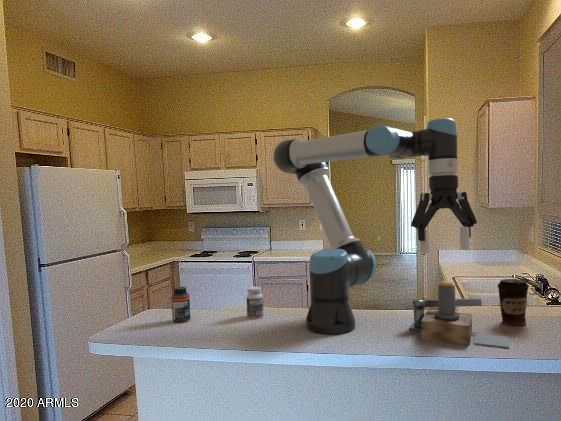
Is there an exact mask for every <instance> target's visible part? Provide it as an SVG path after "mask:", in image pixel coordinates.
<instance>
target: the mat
mask: <svg viewBox="0 0 561 421" xmlns="http://www.w3.org/2000/svg"><path fill="white" fill-rule="evenodd" d="M473 344H474V345H477V346H486V347H493V348H494V347H495V348H503V349H510V342H509V337H508V336H501V335H500V336H499V335H491V334H483V333H475V335H474V342H473Z"/></svg>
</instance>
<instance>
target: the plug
mask: <svg viewBox="0 0 561 421" xmlns="http://www.w3.org/2000/svg"><path fill="white" fill-rule="evenodd" d="M439 282H440V283H439V284H438V285H437V287H438V288H437V292H438V293H437V296H438V297H437V298H438V307H437V308H438V309H437V310H434V311H435V317H436V318H439V319H440V320H450V321H456V320H457V319H459V313H460V312H457V311H456V307H455V299H456V285H454V283H453V281H452V280H451V281H449V280H440V281H439Z"/></svg>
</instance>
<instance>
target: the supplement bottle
mask: <svg viewBox="0 0 561 421" xmlns="http://www.w3.org/2000/svg"><path fill="white" fill-rule="evenodd" d="M173 292H174V293H173V294H172V295H171V313H172V314H171V315H172V316H171V317H172V322H173V323H175V322H184V323H186V322H185V321H187V322H189V321H190V320H191V300H190V293H189V292H188V291H187V287H186V286H176V287H174V288H173ZM188 320H189V321H188Z"/></svg>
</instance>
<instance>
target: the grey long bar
mask: <svg viewBox="0 0 561 421" xmlns="http://www.w3.org/2000/svg"><path fill="white" fill-rule="evenodd" d="M411 303H412V305H411V306H412V308H413V309H414V308H424V309H425V308H438V299H437V298H433V299H429V298H428V299H423V298H413V299H412V302H411ZM482 306H483V304H482V298H480V297H478V298H471V297H470V298H455V308H456V307H458V308H459V307H482Z"/></svg>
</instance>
